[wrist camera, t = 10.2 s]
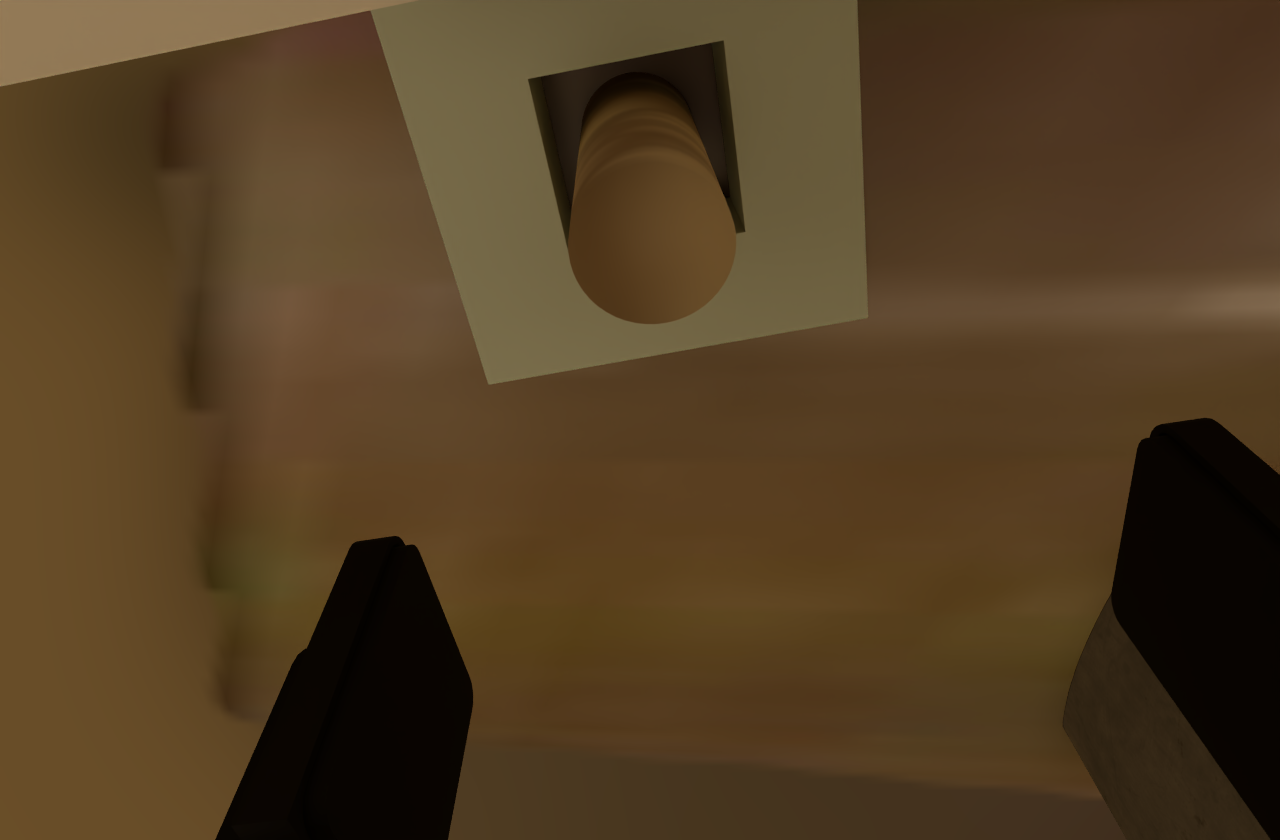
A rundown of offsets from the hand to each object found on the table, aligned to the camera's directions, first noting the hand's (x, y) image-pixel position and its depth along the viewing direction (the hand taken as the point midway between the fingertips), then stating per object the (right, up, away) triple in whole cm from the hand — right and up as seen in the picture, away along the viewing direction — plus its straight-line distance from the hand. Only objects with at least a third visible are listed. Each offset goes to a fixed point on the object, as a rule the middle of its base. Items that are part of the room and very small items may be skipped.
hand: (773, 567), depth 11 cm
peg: (-2, +12, +19) cm, 23 cm away
